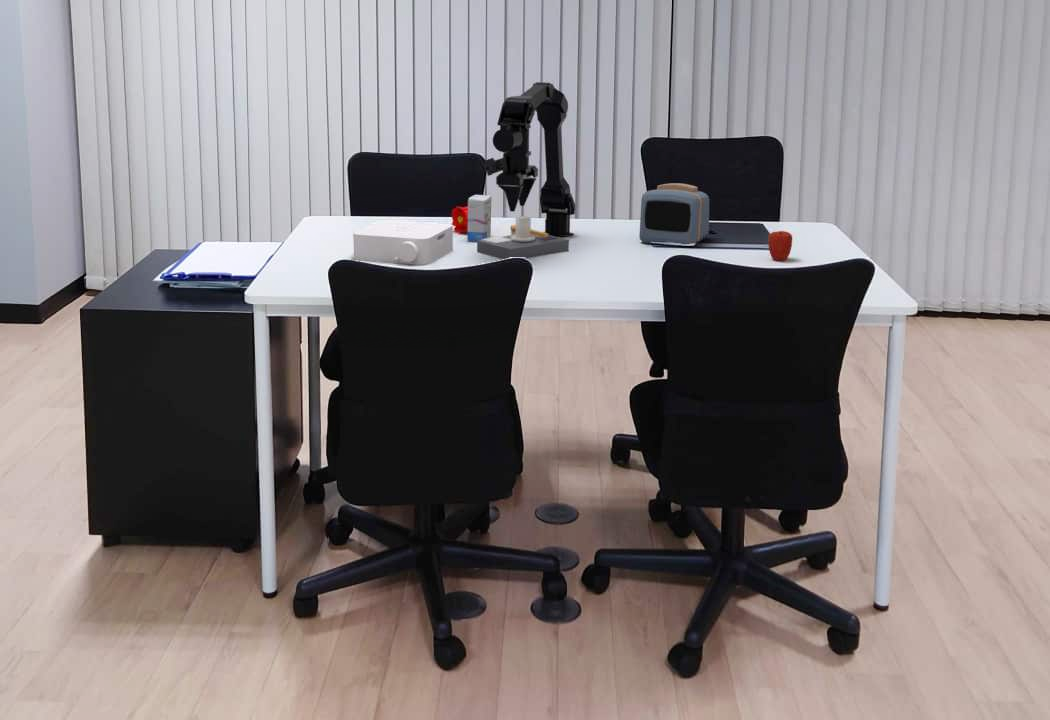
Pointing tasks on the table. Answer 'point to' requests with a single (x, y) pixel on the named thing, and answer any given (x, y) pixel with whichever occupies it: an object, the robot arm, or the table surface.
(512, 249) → the grey flat block
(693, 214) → the retro portable television
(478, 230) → the ink box
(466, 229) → the flower
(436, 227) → the projector
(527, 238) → the plug
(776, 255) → the red rounded lump
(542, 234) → the orange matchstick
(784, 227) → the table surface
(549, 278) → the table surface
